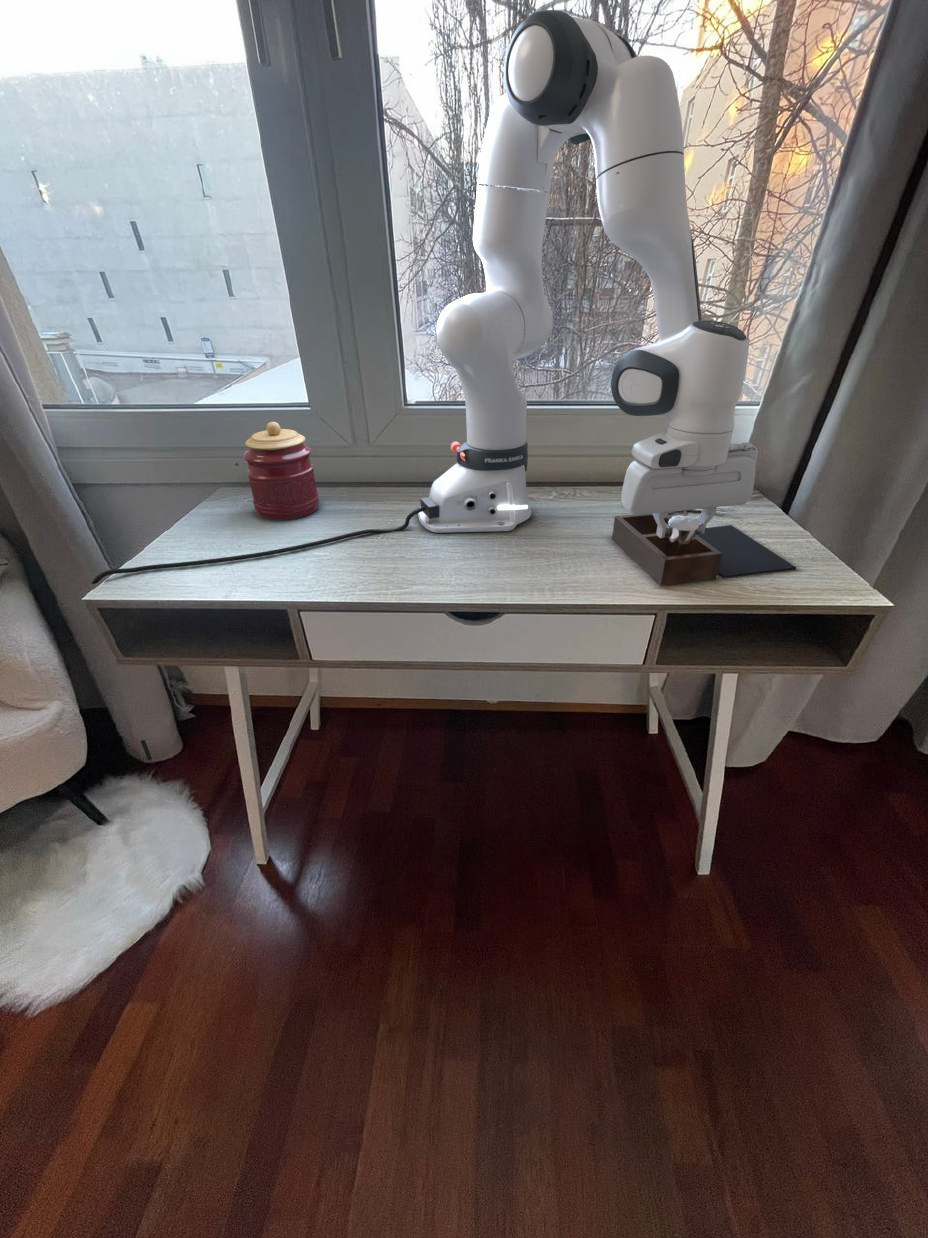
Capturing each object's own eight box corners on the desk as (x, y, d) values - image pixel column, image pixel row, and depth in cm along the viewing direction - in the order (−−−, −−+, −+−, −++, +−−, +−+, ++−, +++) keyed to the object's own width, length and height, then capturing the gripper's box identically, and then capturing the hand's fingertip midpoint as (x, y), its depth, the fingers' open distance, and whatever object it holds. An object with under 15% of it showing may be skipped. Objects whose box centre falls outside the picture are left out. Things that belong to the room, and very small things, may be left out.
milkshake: (688, 564, 98) (701, 507, 93) (687, 578, 93) (701, 518, 88) (659, 560, 99) (671, 503, 94) (657, 573, 95) (670, 514, 89)
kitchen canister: (311, 521, 117) (296, 430, 107) (246, 521, 117) (226, 430, 108) (326, 498, 128) (313, 413, 118) (266, 498, 128) (249, 414, 119)
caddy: (660, 586, 91) (665, 560, 89) (611, 539, 107) (614, 516, 104) (716, 579, 93) (722, 553, 91) (660, 534, 108) (664, 511, 106)
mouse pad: (723, 578, 93) (723, 576, 93) (666, 533, 108) (667, 531, 108) (795, 569, 95) (796, 567, 95) (730, 527, 110) (731, 525, 110)
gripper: (747, 435, 90) (727, 520, 97) (622, 445, 87) (611, 533, 94) (774, 446, 85) (751, 535, 92) (642, 457, 81) (629, 549, 89)
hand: (679, 534), depth 93 cm, fingers closed on milkshake, 4 cm apart
